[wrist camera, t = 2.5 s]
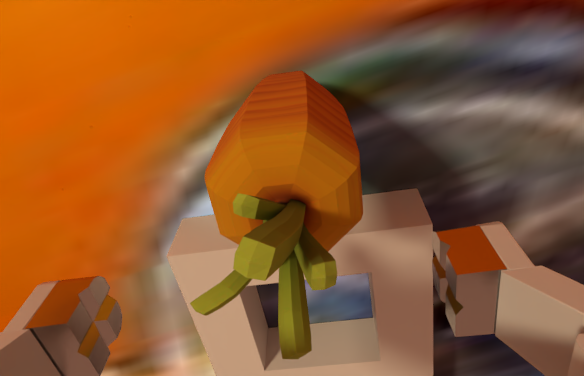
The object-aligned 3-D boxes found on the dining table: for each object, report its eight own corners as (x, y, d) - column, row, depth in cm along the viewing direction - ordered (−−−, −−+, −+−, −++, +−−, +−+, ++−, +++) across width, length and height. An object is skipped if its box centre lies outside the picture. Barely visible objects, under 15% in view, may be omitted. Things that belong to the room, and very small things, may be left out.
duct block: (417, 188, 25) (435, 231, 21) (423, 437, 38) (435, 489, 34) (182, 218, 26) (163, 263, 23) (267, 448, 39) (264, 499, 36)
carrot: (326, 141, 23) (353, 406, 10) (235, 119, 23) (146, 370, 10) (355, 50, 21) (441, 252, 8) (254, 23, 20) (168, 192, 7)
